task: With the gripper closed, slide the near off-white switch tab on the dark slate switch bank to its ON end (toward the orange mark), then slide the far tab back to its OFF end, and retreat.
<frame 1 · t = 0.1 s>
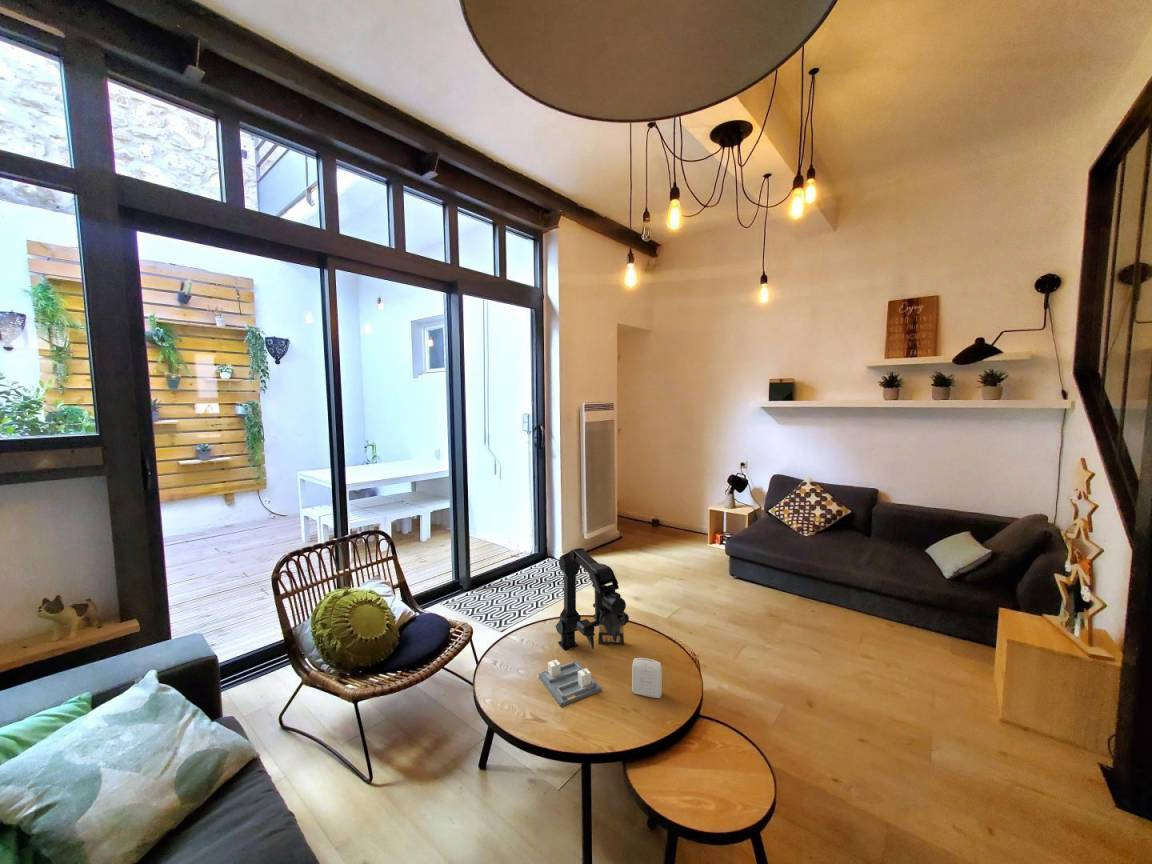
hand: (603, 644, 158), 15 cm above the table, fingers open, 9 cm apart
switch bank: (569, 683, 160), on the table
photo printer: (646, 693, 154), on the table
tab 1: (554, 668, 162), point 4 cm above the table, slide at 0.0 cm
ammunition clip: (611, 643, 185), on the table
tab 2: (584, 677, 156), point 4 cm above the table, slide at 7.0 cm
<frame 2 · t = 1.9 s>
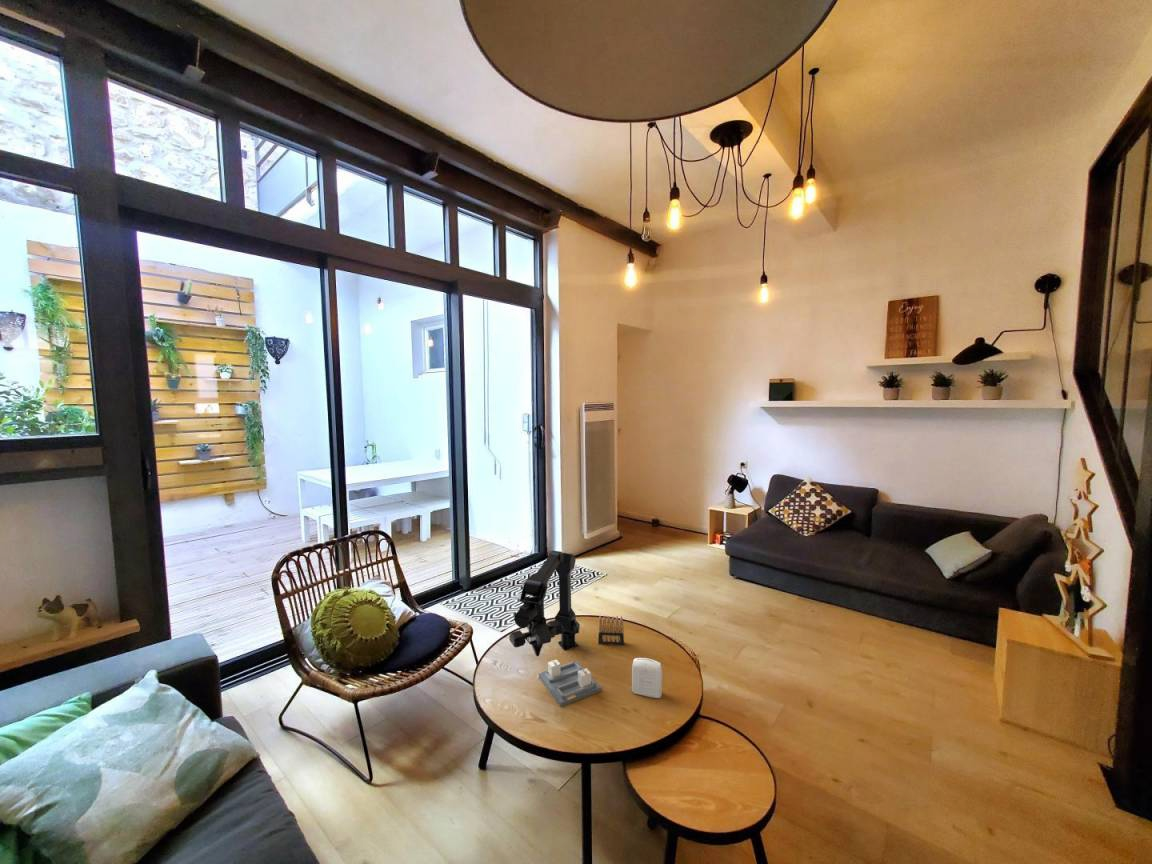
hand: (537, 655, 158), 11 cm above the table, fingers closed
nothing on the table moved.
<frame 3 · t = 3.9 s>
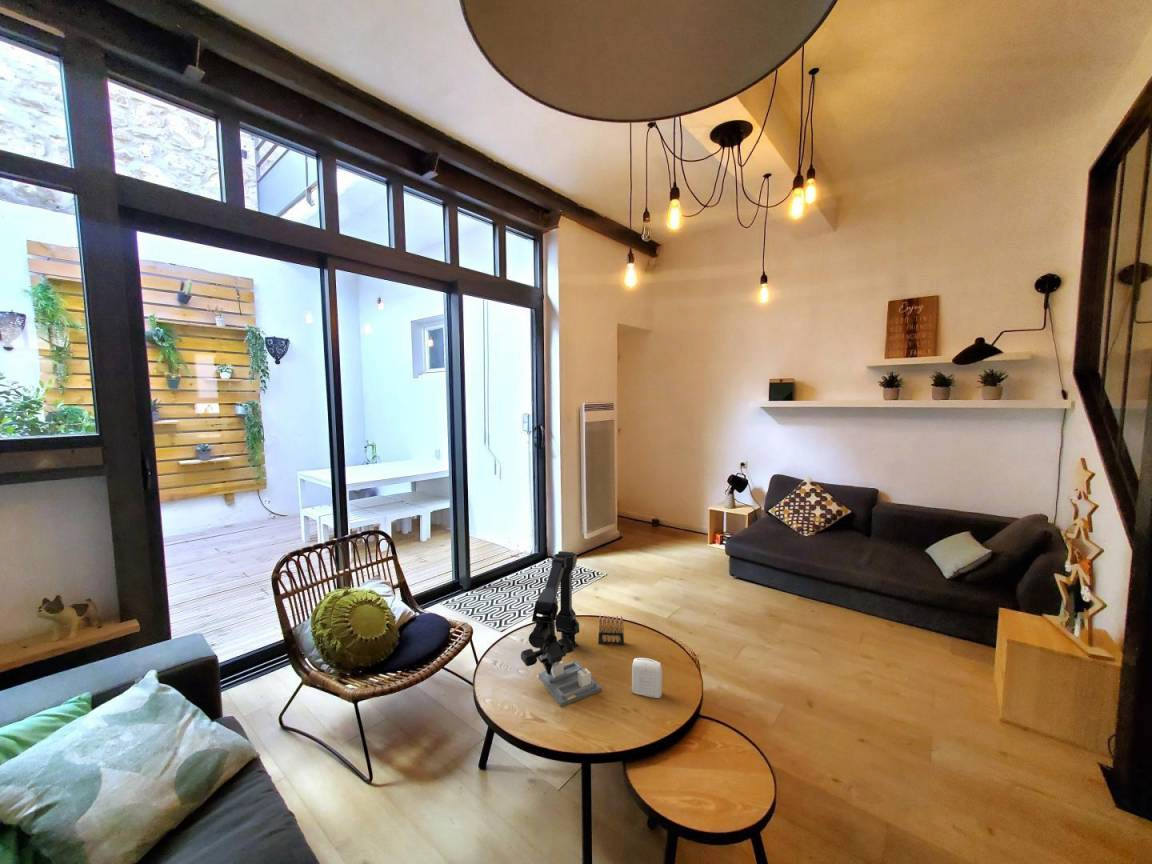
hand: (548, 673, 161), 3 cm above the table, fingers closed
tab 1: (557, 667, 163), point 4 cm above the table, slide at 1.3 cm, touching gripper
everything else where it was.
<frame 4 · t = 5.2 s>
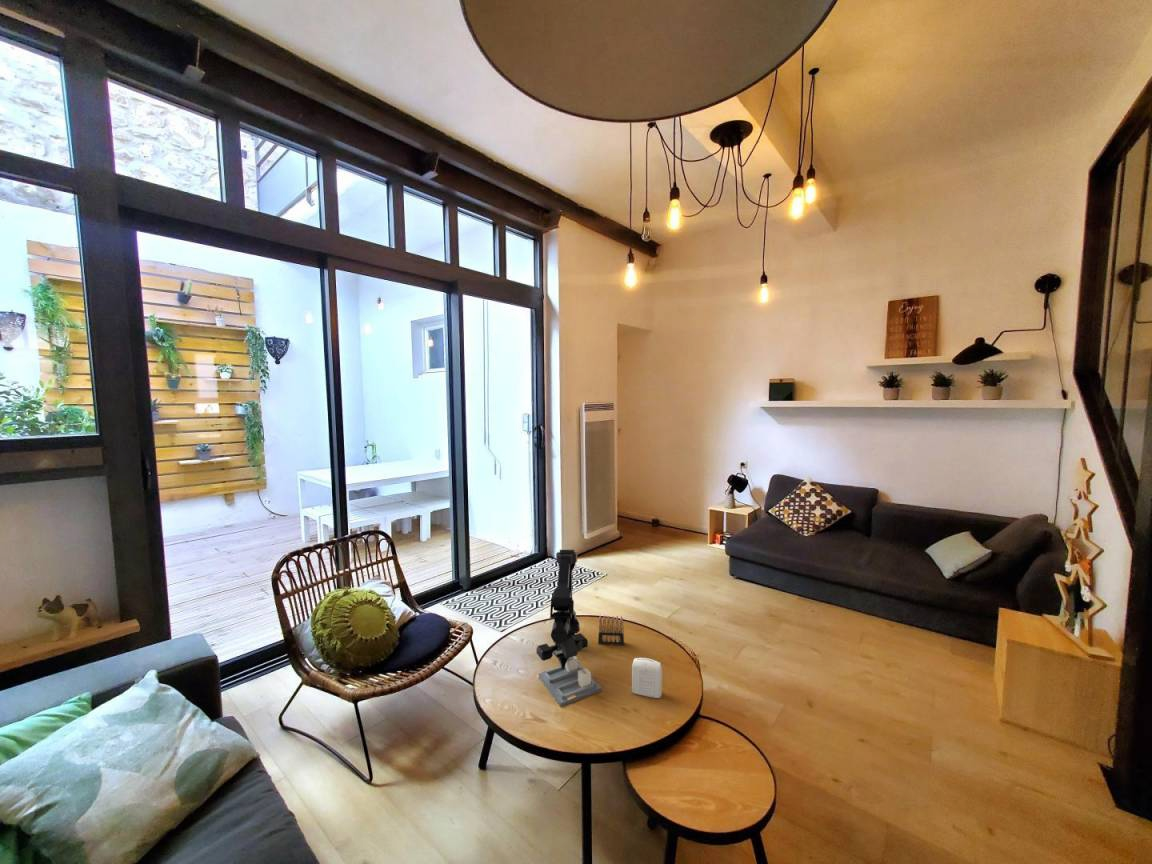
hand: (562, 668, 164), 3 cm above the table, fingers closed
tab 1: (571, 662, 165), point 4 cm above the table, slide at 7.1 cm, touching gripper
everything else where it was.
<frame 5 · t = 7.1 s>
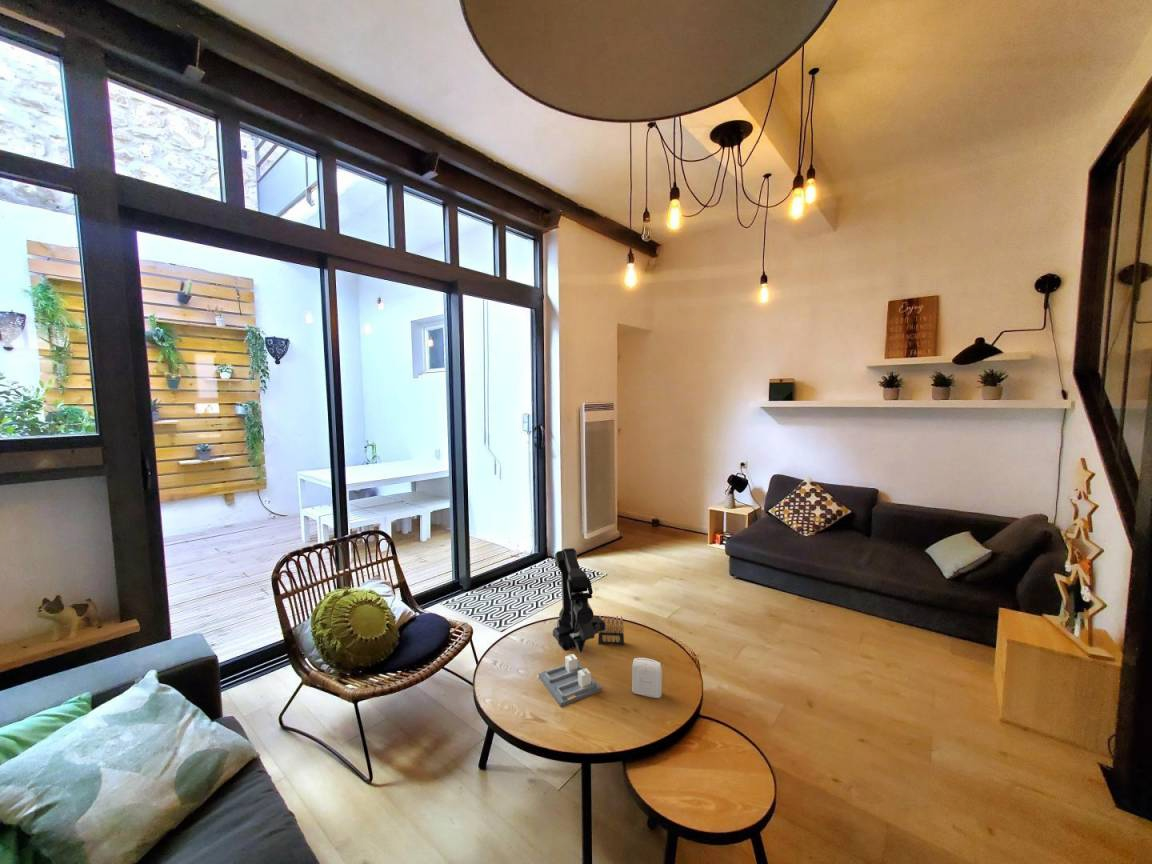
hand: (580, 651, 160), 11 cm above the table, fingers closed
tab 1: (571, 662, 165), point 4 cm above the table, slide at 7.1 cm
everything else where it was.
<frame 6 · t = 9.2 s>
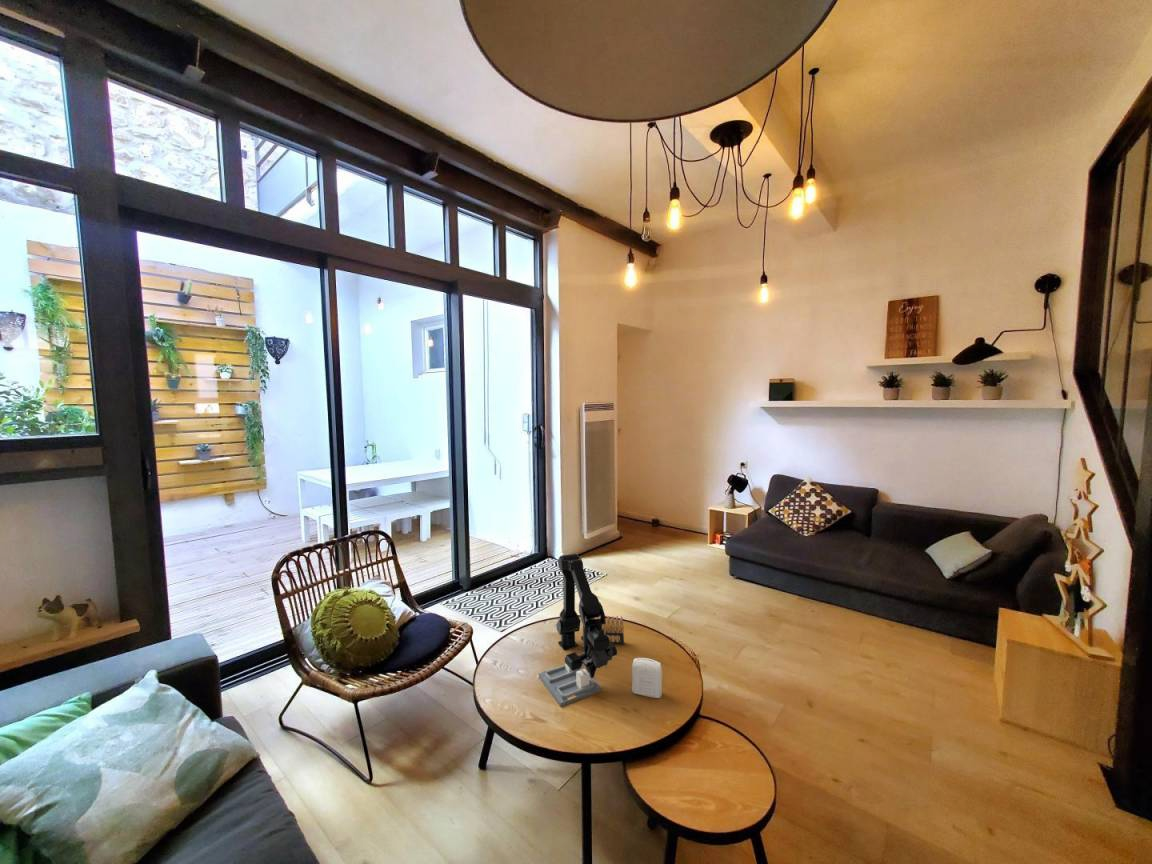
hand: (591, 677, 158), 3 cm above the table, fingers closed
tab 2: (582, 678, 156), point 4 cm above the table, slide at 6.4 cm, touching gripper
everything else where it was.
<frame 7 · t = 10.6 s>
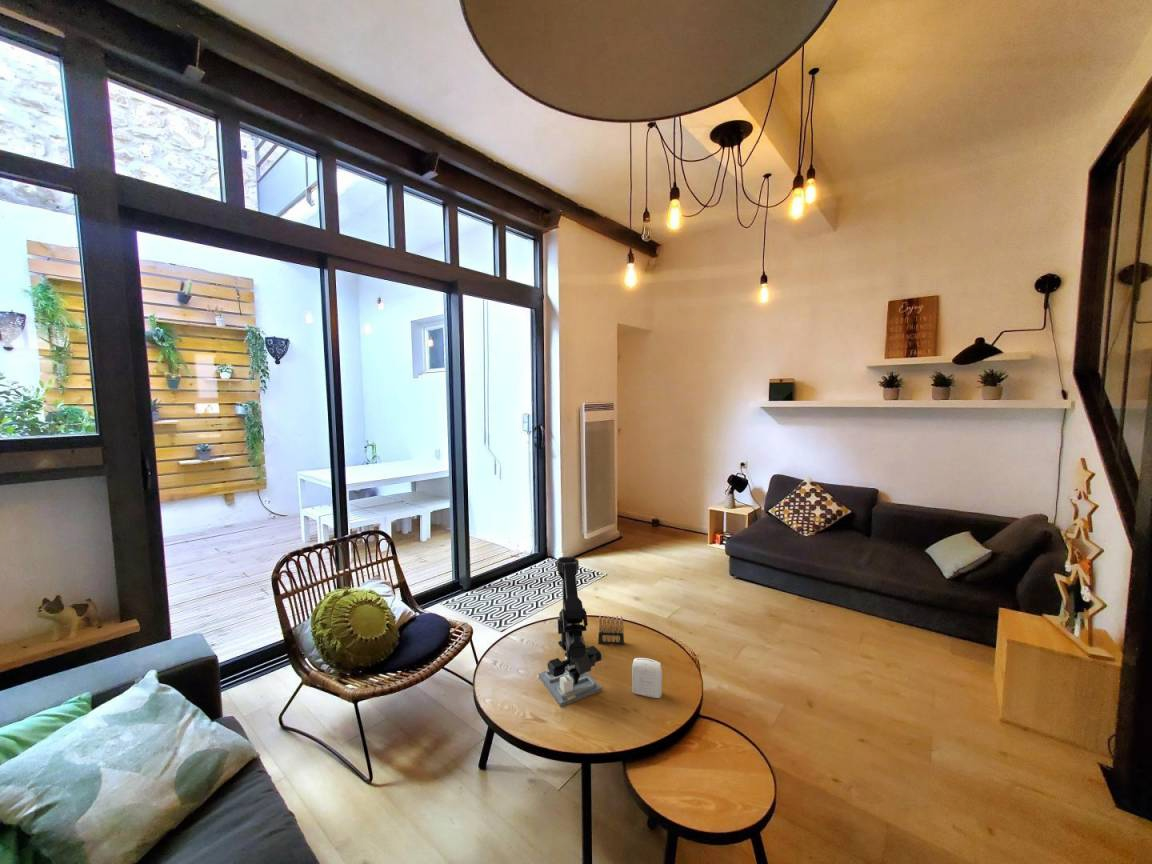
hand: (575, 683, 155), 3 cm above the table, fingers closed
tab 2: (566, 684, 153), point 4 cm above the table, slide at -0.1 cm, touching gripper
everything else where it was.
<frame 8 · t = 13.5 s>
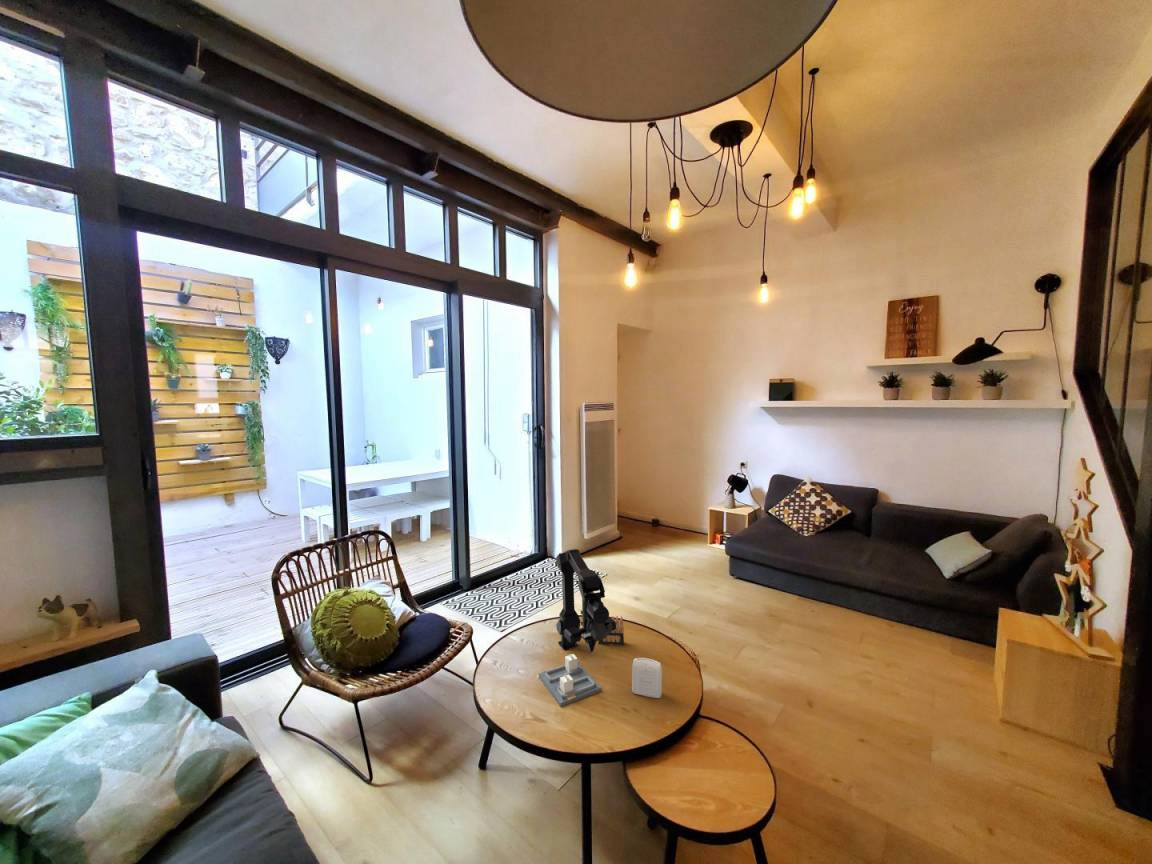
hand: (591, 651, 158), 12 cm above the table, fingers closed
tab 2: (566, 684, 153), point 4 cm above the table, slide at -0.1 cm
everything else where it was.
at the end: tab 1 slide at 7.1 cm; tab 2 slide at -0.1 cm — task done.
